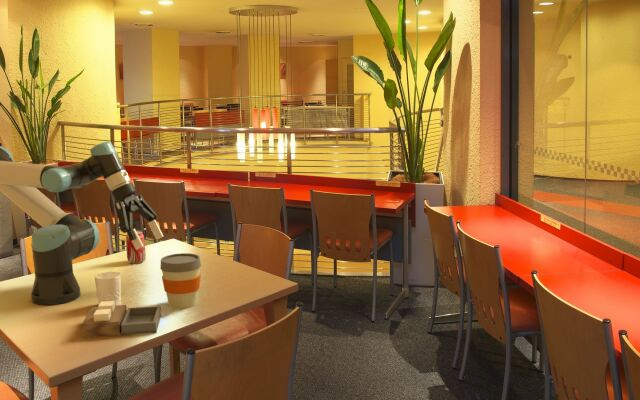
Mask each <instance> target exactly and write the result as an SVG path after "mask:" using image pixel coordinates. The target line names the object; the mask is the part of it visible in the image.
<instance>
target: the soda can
mask: <svg viewBox="0 0 640 400" xmlns="http://www.w3.org/2000/svg"><path fill="white" fill-rule="evenodd" d="M136 232H137V234H138V236H139V238H140V240H141V242H142V244H143V246H144V247H142V248H139V249H137V250H136V249H135V247H134V245H133V243H132V241H131V239H130V238H129V236H128V234H127V233H126V236H125V248H126V258H127V262H129V264H133V265H137V264H138V265H139V264H142V263H144V262H145V261H146V259H147V258H146V254H147V253H146V243H145V242H146V241H145V235H144V234H143V231H141V230H136Z"/></svg>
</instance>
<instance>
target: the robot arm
mask: <svg viewBox="0 0 640 400" xmlns="http://www.w3.org/2000/svg"><path fill="white" fill-rule="evenodd" d="M89 152H90V154H91V155H90V156H89V157H88V158H86V159H84V160H82V161H80V162H77V163H73V164H67V165H63V166H59V165H58V166H56V165H49V164H39V163H29V162H28V163H26V162H17V161H15V160H14V159H13V155H12V154H11V152H10V150H8V149H7V148H5V147H3V146H1V145H0V192H1V193H2V194H3V196H4V195H5V196H6V197H7V198H8V199H9V200H10V201H12V202H13V203H14V204H15V205H16V206H18V208H20V209H21V210H22V212H24V213H25V214H27V215H28V216H29V217H30V218H31V219H32V220H34V221H35V222H36V223H37V224H38V225H40V226H41V227H40V228H38V229H36V230H34V231H33V232H32V235H31V246H30V247H31V250H32V259H33V269H34V280H33V285H32V289H31V295H30V297H31V298H30V299H31V302H32V303H33V304H35V305H41V306H47V305H48V306H50V305H59V304H65V303H69V302H72V301H75V300H77V299H78V298H80V297H81V287H80V285H79V283H78V281H77V278H76V276H75V274H74V269H73V268H74V267H73V260H75V259H77V258H81V257H83V256H86V255H88V254H89V253H91V252H92V251H94V250H95V249H96V248H97V247H98V244H99V242H100V231H99V229H98V226H97V225H96V224H95V222H93V221H92V220H89V219H83V218H82V219H80V218H79V217H78V216H77V215H76V214H74V213H73V212H65V211H64V210H62V209H61V208H60V207H59V206H58V205H56V203H54V201H52V200H51V199H50V198H49V197H47V196H46V195H45V194H44V193H43V192H42V191H40V190H39V189H45V190H46V191H48V192H50V193H61V192H65V191H67V190H70V189H81V188H84V187H86V186H88V185H90V184H91V183H92V182H94V181H96V180H98V179H100V178H102V177H103V179H104V181H105V183H106V185H107V187H108V189H109V190H110V191H111V195H112V197H113V198H114V199H113V200H115V202H116V203H115V204H114V208H115V210H116V214H117V220H118V224H119V230H120V232H122V233H123V234H126V235H127V234H128V236H129V238H130V239H131V241H132V243H133V245H134V247H135V249H136V250H137V249H139V248H142V247H144V246H143V244H142V242H141V240H140V238H139V236H138V234H137V232H136V231H137V229H136V228H133V213H135V212H136V213H137V214H139V215H140V216H141V217H142V218H143V219H145V220H146V221H148V222H147V224H148V226H149V227H150V230H151V232H152V234H153V236H154V238H155V240H159V239H161V238H163V237H164V234H163V232H162V230H161V229H160V227H159V224H158V223H157V220H156V219H158V214H157V213H156V211H155V210H154V209H153V208H152V206H151V205H149V204H148V202H147V201H146V200H145V199H144V197H143V195H142V194H137V195H136V193H137V189H136V188H135V186H134V184H133V182H131V181H132V179H131V178H130V176H129V174H128V172H127V170H126V168H125V166H124V164H123V162H122V160H121V158H120V157H119V154H118V151H117V150H116V149H115V147H114V145H113V144H112V142H110V141H103V142H101V143H98V144H96V145H94V146H93V147H91V148H90V150H89Z"/></svg>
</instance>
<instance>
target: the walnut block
mask: <svg viewBox="0 0 640 400" xmlns="http://www.w3.org/2000/svg"><path fill="white" fill-rule="evenodd" d="M96 310H98V306H91V308H90V310H89V311H88V313H87V314H86V316H85V318H84V320H82V323H81V329H82V338H84V339H86V338H99V337H112V336H121V335H122V330H121V324H122V322H123V319H124V317H125V314H126V312H127V310H128V308H127V305H126V304H121V305H117V306H115V309H114V311H113V312H111V317H110V319H109V321H94V313H95V311H96Z"/></svg>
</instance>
